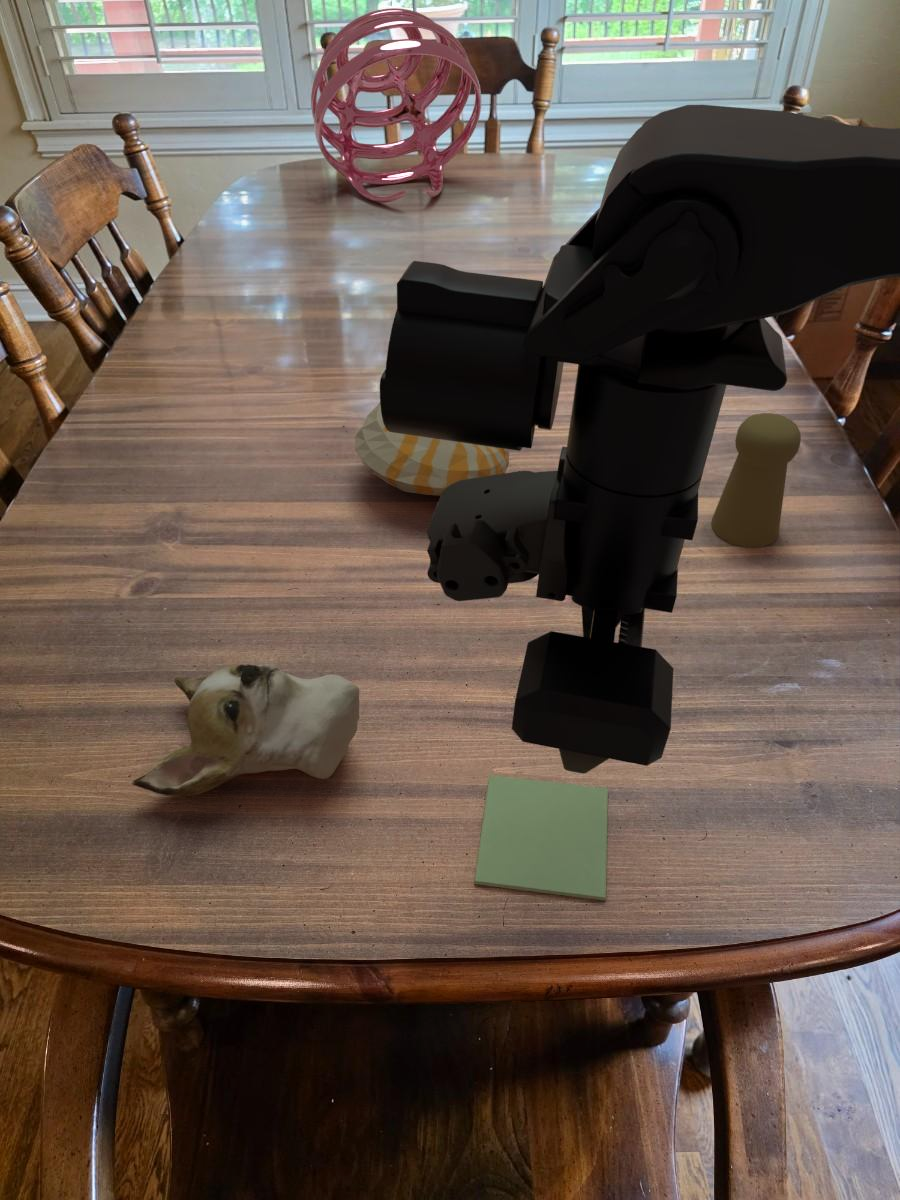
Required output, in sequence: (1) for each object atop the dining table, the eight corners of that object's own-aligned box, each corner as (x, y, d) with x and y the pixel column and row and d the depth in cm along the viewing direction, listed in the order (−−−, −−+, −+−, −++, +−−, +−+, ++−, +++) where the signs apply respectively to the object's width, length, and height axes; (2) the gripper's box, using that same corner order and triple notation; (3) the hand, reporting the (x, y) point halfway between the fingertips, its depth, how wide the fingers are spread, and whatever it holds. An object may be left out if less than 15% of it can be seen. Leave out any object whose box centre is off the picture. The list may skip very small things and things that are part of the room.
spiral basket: (494, 86, 125) (445, -60, 131) (310, 148, 127) (271, 1, 133) (506, 208, 152) (466, 82, 158) (355, 257, 155) (321, 131, 160)
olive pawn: (697, 518, 81) (720, 413, 73) (749, 501, 82) (776, 397, 75) (739, 554, 77) (768, 448, 69) (793, 536, 78) (826, 430, 71)
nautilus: (372, 412, 97) (506, 421, 97) (343, 518, 80) (505, 529, 80) (371, 344, 92) (512, 353, 92) (339, 442, 75) (512, 453, 75)
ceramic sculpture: (340, 735, 51) (97, 734, 52) (361, 821, 57) (142, 818, 58) (366, 613, 59) (154, 615, 60) (382, 699, 65) (188, 699, 66)
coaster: (607, 791, 58) (608, 788, 58) (605, 901, 52) (605, 897, 52) (489, 778, 59) (489, 774, 59) (474, 884, 53) (474, 881, 53)
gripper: (487, 335, 44) (473, 568, 55) (388, 566, 31) (394, 815, 41) (710, 363, 43) (650, 597, 53) (708, 620, 29) (629, 865, 40)
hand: (584, 701), depth 47 cm, fingers open, 9 cm apart
